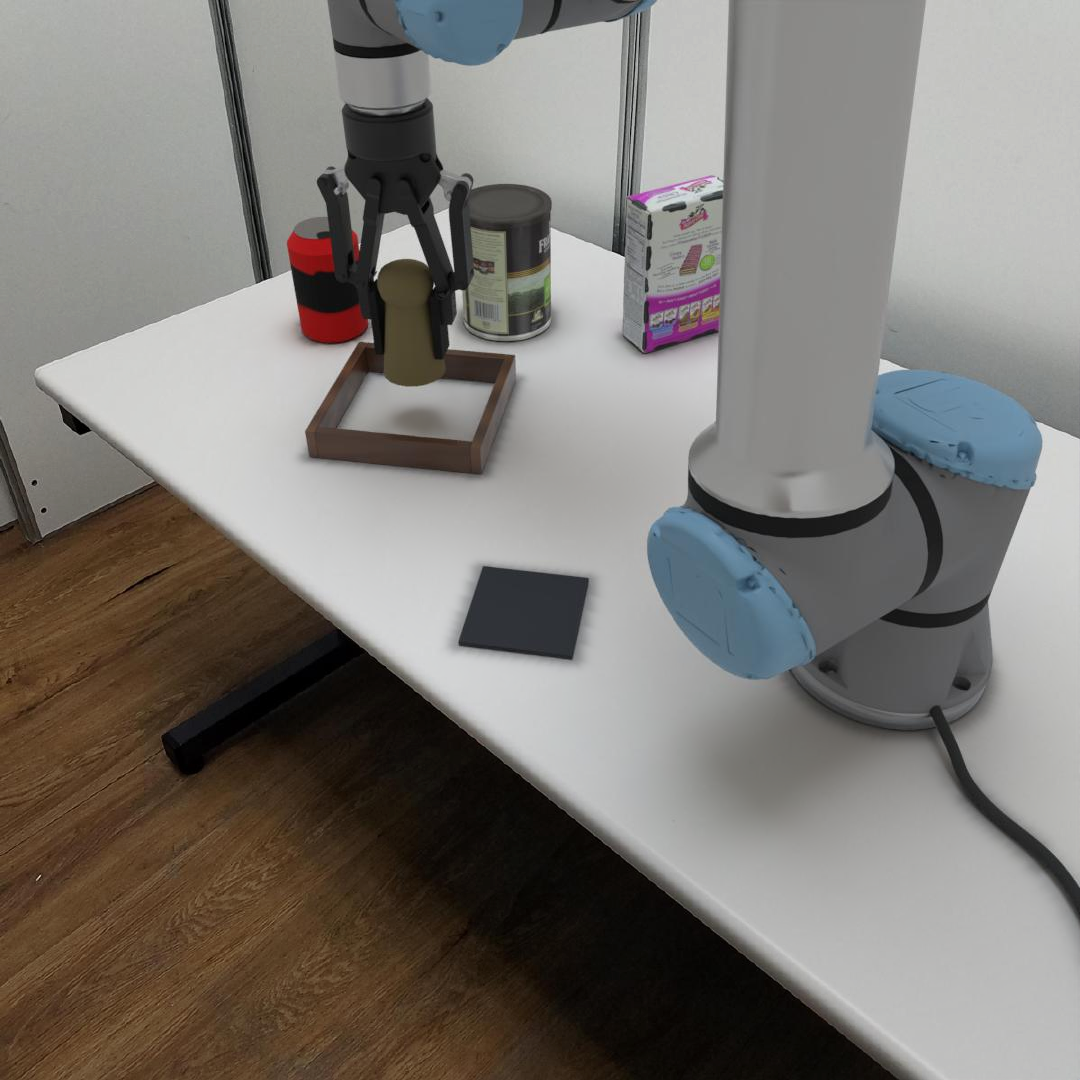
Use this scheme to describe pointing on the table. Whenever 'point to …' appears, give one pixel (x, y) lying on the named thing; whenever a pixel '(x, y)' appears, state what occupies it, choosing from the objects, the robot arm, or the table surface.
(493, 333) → the coffee can
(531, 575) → the mat
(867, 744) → the table surface
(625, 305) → the candy bar box
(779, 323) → the robot arm
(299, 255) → the soda can
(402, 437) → the wooden frame
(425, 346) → the olive pawn
